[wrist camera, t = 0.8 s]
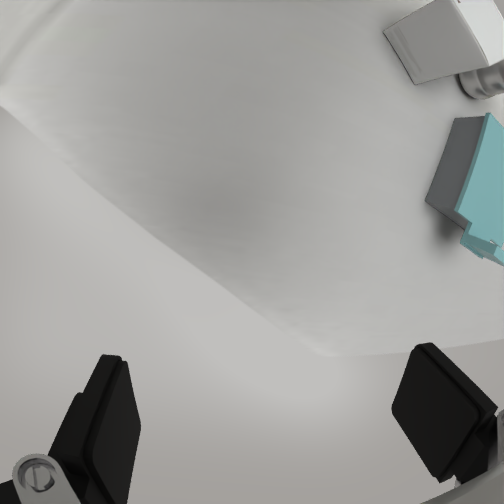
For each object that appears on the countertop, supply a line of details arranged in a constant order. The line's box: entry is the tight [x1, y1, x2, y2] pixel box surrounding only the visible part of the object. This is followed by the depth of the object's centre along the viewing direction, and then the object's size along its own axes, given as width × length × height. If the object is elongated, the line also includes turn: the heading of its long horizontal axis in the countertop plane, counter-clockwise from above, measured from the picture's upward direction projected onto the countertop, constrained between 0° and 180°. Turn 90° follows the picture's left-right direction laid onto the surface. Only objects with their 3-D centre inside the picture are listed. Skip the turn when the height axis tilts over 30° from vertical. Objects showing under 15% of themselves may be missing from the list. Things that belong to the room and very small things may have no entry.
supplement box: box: [383, 0, 504, 85], centre depth 26 cm, size 9×9×15 cm
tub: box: [425, 116, 491, 241], centre depth 35 cm, size 14×11×7 cm
